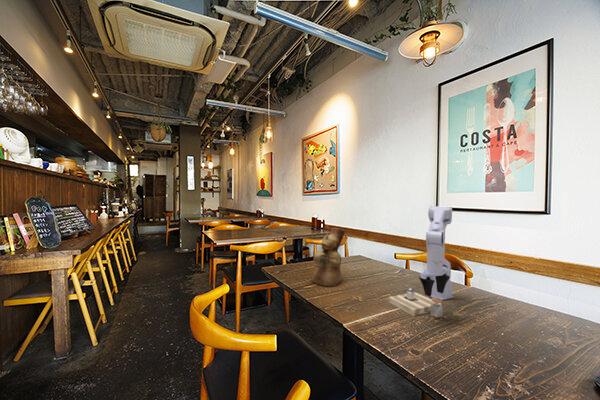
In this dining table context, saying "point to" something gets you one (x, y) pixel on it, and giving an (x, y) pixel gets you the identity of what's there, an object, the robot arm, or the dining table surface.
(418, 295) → the block
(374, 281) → the dining table surface
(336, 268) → the ceramic vessel
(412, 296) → the steel pin
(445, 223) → the robot arm
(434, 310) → the plunger housing
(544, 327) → the dining table surface
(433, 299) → the cap
